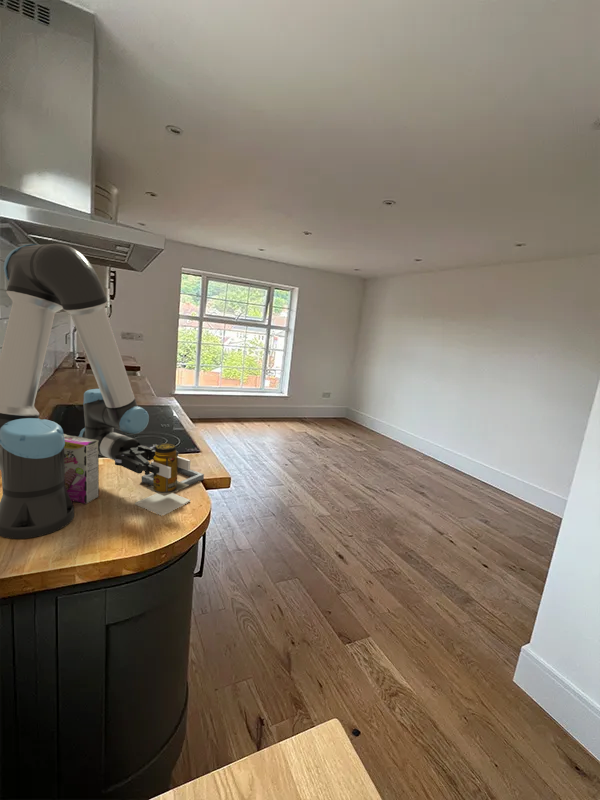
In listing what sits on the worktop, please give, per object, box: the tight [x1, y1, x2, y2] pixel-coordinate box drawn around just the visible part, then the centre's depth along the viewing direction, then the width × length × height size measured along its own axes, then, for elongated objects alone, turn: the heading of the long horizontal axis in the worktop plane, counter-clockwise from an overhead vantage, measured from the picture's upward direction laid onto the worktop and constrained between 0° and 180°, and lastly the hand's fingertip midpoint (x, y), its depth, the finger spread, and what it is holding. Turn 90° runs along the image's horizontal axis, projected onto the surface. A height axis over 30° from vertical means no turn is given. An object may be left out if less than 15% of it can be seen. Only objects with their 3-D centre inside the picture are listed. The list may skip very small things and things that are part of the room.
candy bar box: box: [63, 433, 100, 505], centre depth 98 cm, size 11×5×16 cm, turn 79°
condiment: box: [146, 443, 190, 496], centre depth 100 cm, size 7×8×12 cm
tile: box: [134, 492, 192, 517], centre depth 101 cm, size 10×10×1 cm
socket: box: [141, 467, 205, 490], centre depth 115 cm, size 13×12×2 cm
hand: (179, 469), depth 97 cm, fingers closed on condiment, 6 cm apart
